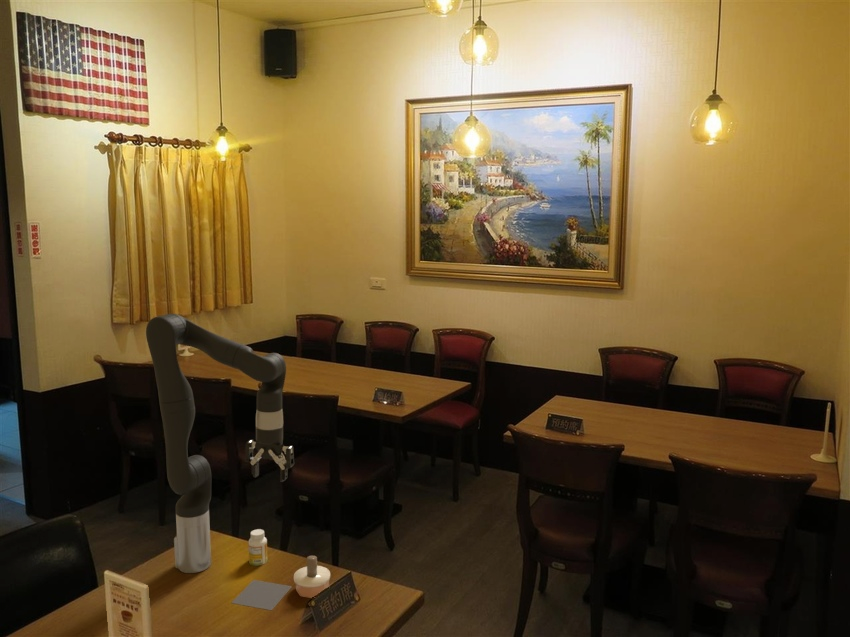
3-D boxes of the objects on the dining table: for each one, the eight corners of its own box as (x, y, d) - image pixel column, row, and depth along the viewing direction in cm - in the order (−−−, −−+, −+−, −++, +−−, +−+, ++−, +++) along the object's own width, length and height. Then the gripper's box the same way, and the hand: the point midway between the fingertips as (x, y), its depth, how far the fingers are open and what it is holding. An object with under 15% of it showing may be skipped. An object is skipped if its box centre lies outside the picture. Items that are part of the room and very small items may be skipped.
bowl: (292, 596, 190) (291, 583, 189) (305, 580, 198) (305, 567, 197) (320, 601, 188) (320, 587, 187) (332, 585, 196) (332, 572, 195)
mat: (231, 604, 186) (231, 602, 186) (253, 581, 197) (253, 579, 197) (271, 612, 183) (271, 610, 183) (292, 588, 194) (292, 586, 194)
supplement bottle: (260, 556, 211) (259, 526, 210) (271, 562, 208) (270, 531, 207) (245, 563, 207) (244, 532, 206) (256, 569, 204) (255, 538, 202)
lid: (287, 584, 189) (287, 564, 188) (303, 565, 198) (302, 547, 197) (321, 589, 186) (321, 569, 185) (335, 571, 196) (335, 552, 195)
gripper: (239, 425, 193) (240, 480, 196) (286, 431, 190) (286, 487, 192) (253, 417, 200) (253, 470, 203) (298, 423, 197) (298, 477, 200)
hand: (269, 478), depth 198 cm, fingers open, 8 cm apart
